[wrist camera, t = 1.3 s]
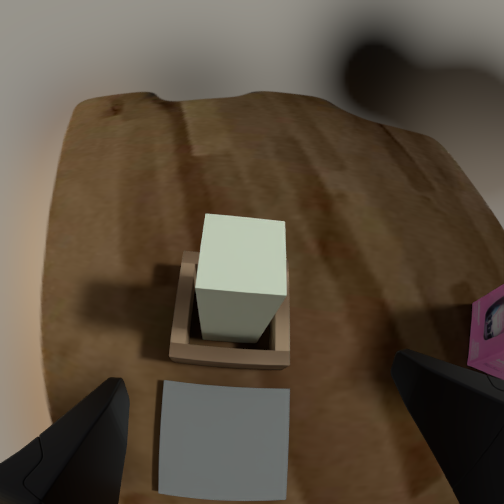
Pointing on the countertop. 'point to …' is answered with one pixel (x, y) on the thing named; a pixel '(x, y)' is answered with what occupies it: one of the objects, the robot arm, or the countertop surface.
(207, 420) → the rubber mat
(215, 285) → the sage block
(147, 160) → the countertop surface
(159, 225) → the countertop surface
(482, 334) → the gum box
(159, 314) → the countertop surface
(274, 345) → the walnut holder
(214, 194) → the countertop surface
